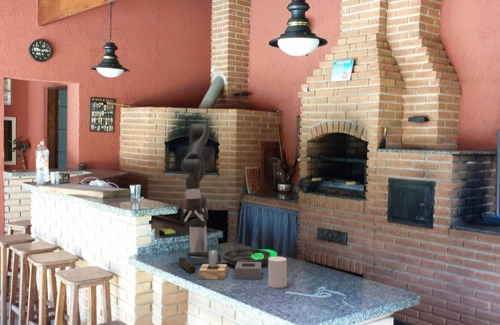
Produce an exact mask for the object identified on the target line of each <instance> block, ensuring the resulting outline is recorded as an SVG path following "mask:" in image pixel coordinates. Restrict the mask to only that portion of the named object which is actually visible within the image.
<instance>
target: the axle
mask: <svg viewBox="0 0 500 325" xmlns="http://www.w3.org/2000/svg"><path fill="white" fill-rule="evenodd" d="M208 253H209V257H208V264H209V269H217V264H218V260H217V254H218V250H215V249H210V250H209V251H208Z"/></svg>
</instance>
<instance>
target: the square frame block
mask: <svg viewBox="0 0 500 325" xmlns="http://www.w3.org/2000/svg"><path fill="white" fill-rule="evenodd" d="M227 272H228V264H227V263H217V269H209V263H202V265H201V267H200V268H199V270H198V280H225V278H226V276H227V274H228V273H227Z"/></svg>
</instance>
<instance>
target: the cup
mask: <svg viewBox="0 0 500 325" xmlns="http://www.w3.org/2000/svg"><path fill="white" fill-rule="evenodd" d="M267 264H268V266H267V267H268V269H267V270H268V275H267V276H268V287H270V288H274V289H283V288H286V287H287V278H288V276H287V274H288V273H287V272H288V271H287V264H288V263H287V258H286V257H284V256H270V257H269V258H268V260H267Z"/></svg>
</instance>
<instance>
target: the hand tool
mask: <svg viewBox="0 0 500 325" xmlns="http://www.w3.org/2000/svg"><path fill="white" fill-rule="evenodd" d="M178 264H179V265H178V266H179V267H180V268H183V269H184V270H186V271H187V273H188V274H195V273H196V270H197V267H196V266H195V265H192V263H190V262H188V261H186V258H184V257H182V256H180V257H178Z"/></svg>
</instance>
